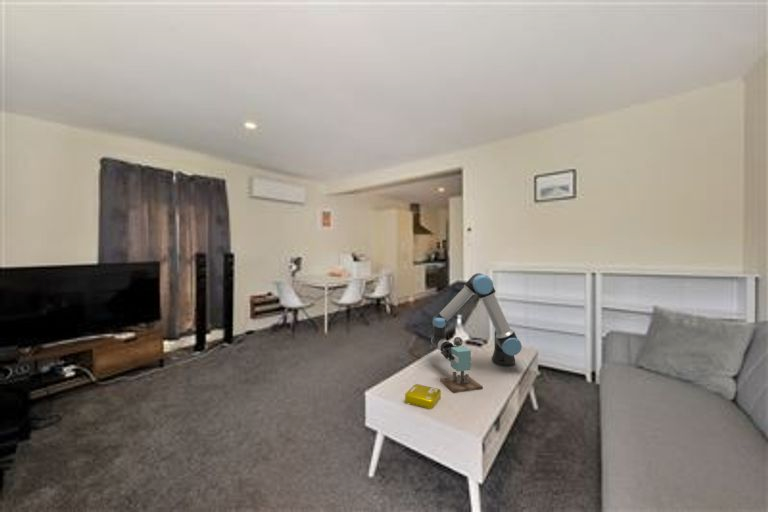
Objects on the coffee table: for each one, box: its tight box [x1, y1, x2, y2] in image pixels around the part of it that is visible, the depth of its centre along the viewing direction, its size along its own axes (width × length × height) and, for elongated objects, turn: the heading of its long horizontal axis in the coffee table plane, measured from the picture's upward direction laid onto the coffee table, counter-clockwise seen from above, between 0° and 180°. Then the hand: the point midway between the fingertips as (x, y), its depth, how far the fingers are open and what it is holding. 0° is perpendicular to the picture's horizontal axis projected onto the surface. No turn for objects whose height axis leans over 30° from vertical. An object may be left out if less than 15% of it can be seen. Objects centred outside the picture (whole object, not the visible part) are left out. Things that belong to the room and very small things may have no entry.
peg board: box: [439, 371, 483, 394], centre depth 180 cm, size 18×16×6 cm
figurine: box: [449, 336, 464, 362], centre depth 220 cm, size 9×12×15 cm
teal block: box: [450, 345, 472, 373], centre depth 180 cm, size 8×8×11 cm
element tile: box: [404, 383, 442, 410], centre depth 163 cm, size 15×15×5 cm
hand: (465, 359), depth 175 cm, fingers closed on teal block, 8 cm apart
